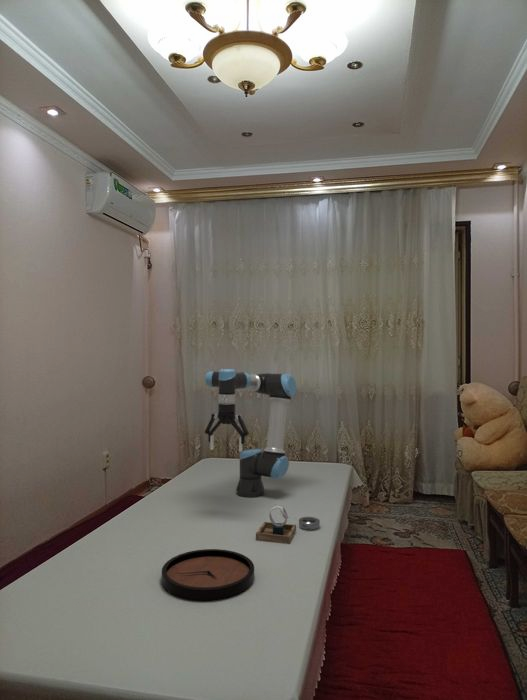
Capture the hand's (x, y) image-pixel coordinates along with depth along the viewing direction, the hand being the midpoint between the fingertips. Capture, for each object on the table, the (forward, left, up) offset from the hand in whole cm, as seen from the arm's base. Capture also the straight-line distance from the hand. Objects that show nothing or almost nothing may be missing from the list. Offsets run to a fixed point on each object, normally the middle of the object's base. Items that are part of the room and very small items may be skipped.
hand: (226, 450), depth 233 cm
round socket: (-8, +37, -32) cm, 49 cm away
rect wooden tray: (+7, +28, -32) cm, 43 cm away
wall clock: (+53, +22, -32) cm, 66 cm away
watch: (+5, +28, -31) cm, 42 cm away
